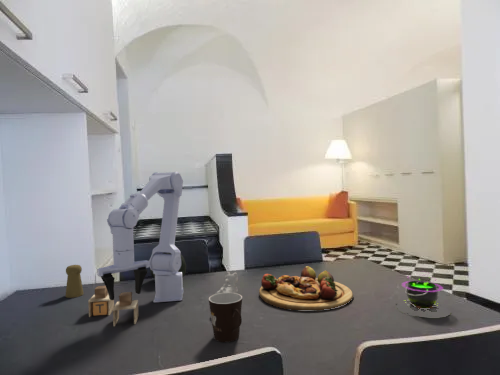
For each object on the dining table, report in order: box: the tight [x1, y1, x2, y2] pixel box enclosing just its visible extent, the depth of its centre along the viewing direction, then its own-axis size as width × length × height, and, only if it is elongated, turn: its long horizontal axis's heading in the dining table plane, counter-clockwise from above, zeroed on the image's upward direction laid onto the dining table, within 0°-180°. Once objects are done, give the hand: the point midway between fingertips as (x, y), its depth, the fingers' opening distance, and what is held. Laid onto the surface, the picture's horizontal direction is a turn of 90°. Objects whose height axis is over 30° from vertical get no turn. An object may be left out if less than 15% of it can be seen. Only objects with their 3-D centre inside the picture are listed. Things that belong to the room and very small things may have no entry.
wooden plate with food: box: [258, 265, 354, 311], centre depth 120 cm, size 32×32×8 cm
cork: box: [65, 264, 84, 299], centre depth 127 cm, size 6×6×11 cm
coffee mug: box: [208, 293, 243, 343], centre depth 87 cm, size 12×9×10 cm
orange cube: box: [92, 301, 108, 317], centre depth 108 cm, size 4×4×4 cm
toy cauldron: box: [401, 271, 444, 312], centre depth 104 cm, size 15×15×11 cm
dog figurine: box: [215, 271, 239, 294], centre depth 110 cm, size 5×13×11 cm, turn 163°
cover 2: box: [112, 291, 139, 327], centre depth 101 cm, size 6×6×8 cm
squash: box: [149, 253, 187, 280], centre depth 143 cm, size 14×15×15 cm
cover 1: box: [87, 285, 115, 318], centre depth 108 cm, size 6×6×8 cm
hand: (125, 296), depth 101 cm, fingers open, 7 cm apart
